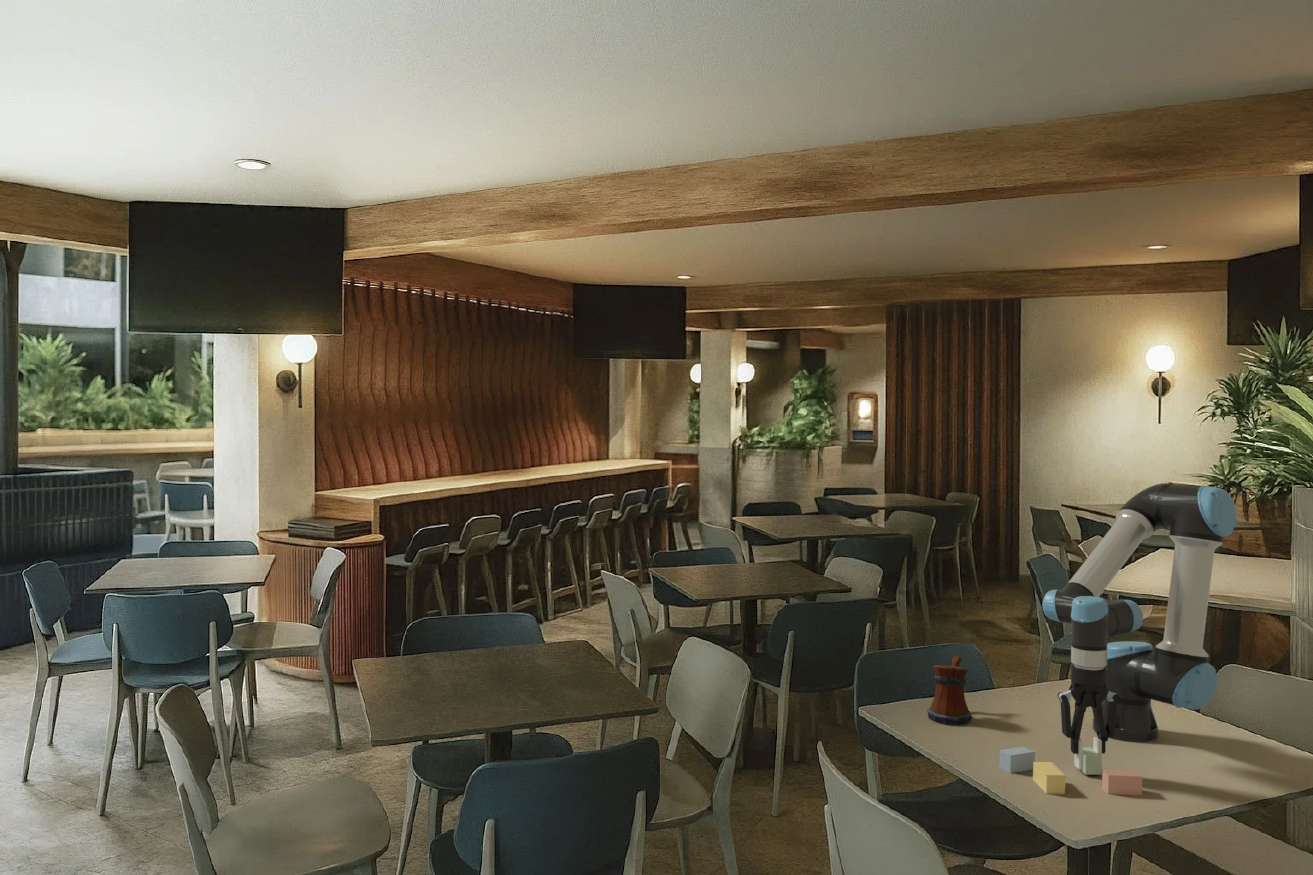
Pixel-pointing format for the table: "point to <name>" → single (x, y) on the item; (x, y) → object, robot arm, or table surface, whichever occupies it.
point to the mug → (950, 695)
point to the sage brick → (1091, 762)
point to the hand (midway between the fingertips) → (1087, 766)
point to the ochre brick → (1049, 777)
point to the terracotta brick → (1122, 782)
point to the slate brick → (1016, 759)
